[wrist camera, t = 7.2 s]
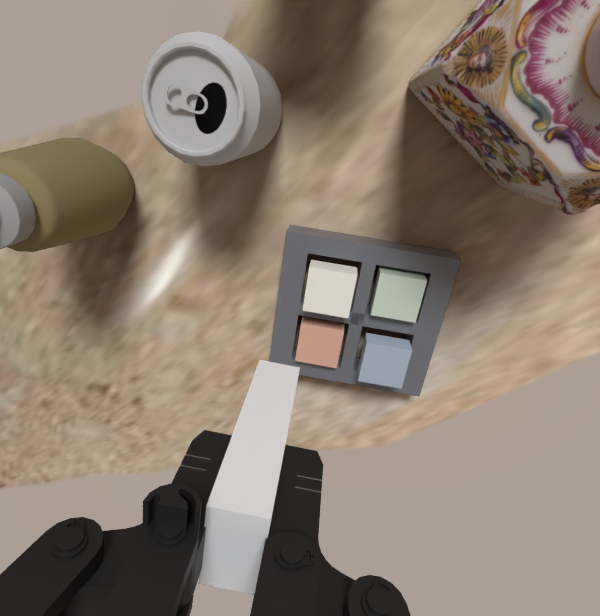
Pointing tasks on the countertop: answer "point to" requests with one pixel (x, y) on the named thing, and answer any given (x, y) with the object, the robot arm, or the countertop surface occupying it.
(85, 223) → the squeeze bottle
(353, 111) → the countertop surface
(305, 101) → the countertop surface
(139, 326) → the countertop surface
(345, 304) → the cream key
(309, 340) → the terracotta key
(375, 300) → the sage key
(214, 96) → the can
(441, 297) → the keypad
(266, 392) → the robot arm
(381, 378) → the slate key
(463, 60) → the decorative jar
